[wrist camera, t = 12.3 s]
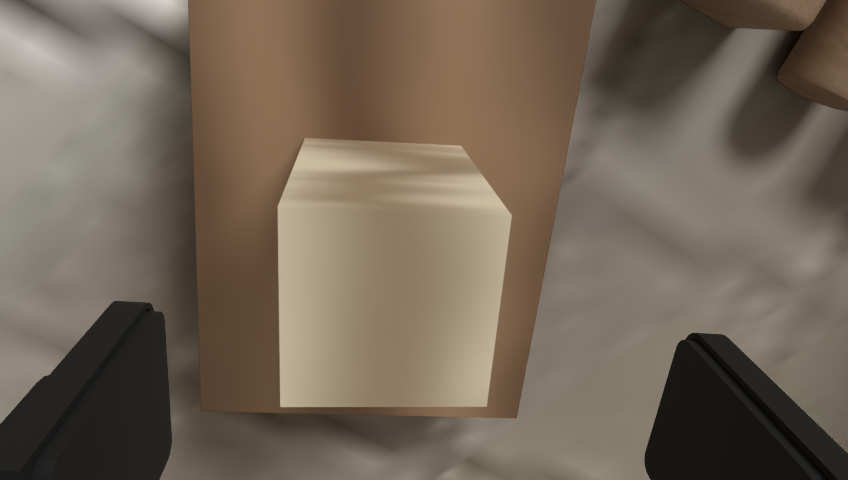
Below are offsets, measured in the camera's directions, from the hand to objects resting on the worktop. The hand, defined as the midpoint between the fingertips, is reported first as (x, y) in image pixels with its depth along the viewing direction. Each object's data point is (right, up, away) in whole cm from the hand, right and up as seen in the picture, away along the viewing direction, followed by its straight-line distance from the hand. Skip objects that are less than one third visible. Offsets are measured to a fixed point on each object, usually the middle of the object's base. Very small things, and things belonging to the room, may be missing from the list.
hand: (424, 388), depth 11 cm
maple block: (-1, +3, +9) cm, 10 cm away
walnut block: (-2, +5, +14) cm, 15 cm away
